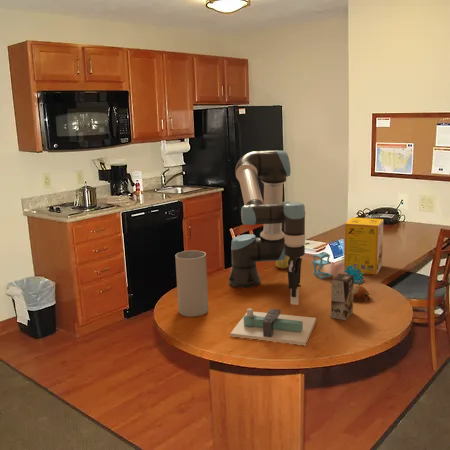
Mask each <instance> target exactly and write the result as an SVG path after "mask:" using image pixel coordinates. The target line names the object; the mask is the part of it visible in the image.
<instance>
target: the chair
mask: <svg viewBox="0 0 450 450" xmlns="http://www.w3.org/2000/svg"><path fill="white" fill-rule="evenodd" d="M312 257H313V261H311V264H312V266H313V275H315V276H316V277H317V278H319V279H320V280H323V279H326V278H329V277H333V273H329V272H324V271H321V270H322V268H323V267H324V266H326V265H330V264H332V262H331V261H330V258H331V255H330V254H329V253H328V252H320V254H319V253H316V254H312ZM316 257H317V258H318V260H317V259H316ZM324 258H326V259H327V260H324ZM317 266H319V268H318V270H317ZM321 275H322V276H321Z"/></svg>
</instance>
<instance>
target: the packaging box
mask: <svg viewBox="0 0 450 450" xmlns="http://www.w3.org/2000/svg"><path fill="white" fill-rule="evenodd" d="M343 241H344V242H343V244H344V247H343V272H345V270H346V267H349V266H350V265H351V266H352V269H353V267H354V266H355V267H356V269H355V270H357V269H360V271H359V273H362V272H364V274H365V275H374V276H377V275H378V273H379V272H380V271H381V270H380V269H381V268H382V266H383V251H384V249H383V248H384V247H383V246H384V219H383V218H371V217H370V218H367V217H354V216H353V217H350V218H349V219H348V220H347V221H346V222H345V223H344V239H343ZM349 269H350V268H349ZM348 272H349V271H348ZM364 274H363V275H364Z"/></svg>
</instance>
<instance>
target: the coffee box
mask: <svg viewBox="0 0 450 450" xmlns="http://www.w3.org/2000/svg"><path fill="white" fill-rule="evenodd" d="M347 274H348V273H338V274H337V275H336V276H334V277H333V278H331V292H330V293H331V294H330V298H331V299H330V300H331V302H330V303H331V304H330V307H331V308H330V318H333V319H336V320H342V321H346V320H348V318H349V317H350V316H352V314H353V312H354V301H353V285H354V275H347Z"/></svg>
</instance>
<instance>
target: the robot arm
mask: <svg viewBox="0 0 450 450" xmlns="http://www.w3.org/2000/svg"><path fill="white" fill-rule="evenodd" d="M234 173H235V178H236V179H237V180H238V183H239V185H240V190H241V194H242V195H241V196H242V200H243V205H242V206H241V208H240V216H241V217H240V218H241V223H242V225H247V226H250V225H251V226H256V225H263V230H262V231H261V232H259V237H257V236H256V235H255V234H253V233H250V234H249V233H248V234H241V235H237V236H235V237H233V238H232V240H231V247H230V249H231V271H230V272H229V273H230V274H229V277H228V284H229V286H231V287H234V288H238V289H239V288H241V289H246V288H247V289H248V288H254V287H256V286H259V284H261V277H260V274H259V272H258V268H257V263H259V262H275V261H278V260H284V259H285V258H286V256H289V260H288V265H289V267H287V268H286V271H287V281H288V287H287V289H289V290H290V305H295V306H298V305H299V303H300V302H299V292H300V291H299V288H301V287H302V286H301V284H300V283H301V273H302V260H303V258H302V257H303V256H304V255H305V254H306V251H305V249H306V247H305V246H306V245H305V244H306V237H305V236H306V233H305V231H306V230H305V227H306V207H305V205H304V203H302V202H297V201H294V202H293V201H291V202H290V201H283V196H284V195H283V194H284V191H283V187H284V184H285V183H286V182H287V177H290V176H291V173H292V171H291V163H290V158H289V155H288V152H287V151H285V150H277V149H276V150H258V151H256V150H255V151H249V152H248V153H246V154H243V156H242V157H241V158H239V160H238V162H237V163H236V166H235V171H234ZM258 178H260V181H261V183H262V184H263V196H262V193H261V188H260V184H259V180H258ZM283 224H284V225H283ZM282 225H283V226H284V228H283V226H282ZM282 228H283V229H284V231H282Z"/></svg>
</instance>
